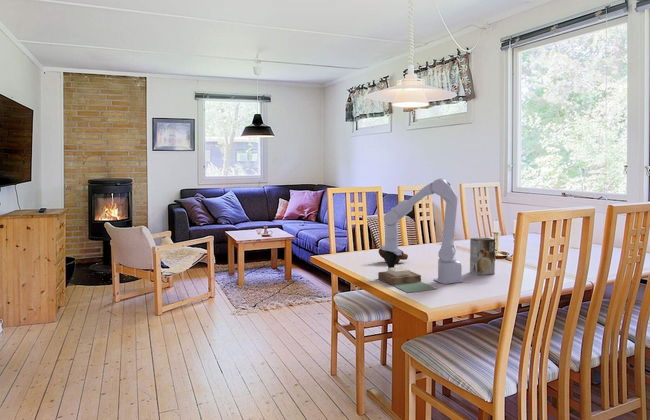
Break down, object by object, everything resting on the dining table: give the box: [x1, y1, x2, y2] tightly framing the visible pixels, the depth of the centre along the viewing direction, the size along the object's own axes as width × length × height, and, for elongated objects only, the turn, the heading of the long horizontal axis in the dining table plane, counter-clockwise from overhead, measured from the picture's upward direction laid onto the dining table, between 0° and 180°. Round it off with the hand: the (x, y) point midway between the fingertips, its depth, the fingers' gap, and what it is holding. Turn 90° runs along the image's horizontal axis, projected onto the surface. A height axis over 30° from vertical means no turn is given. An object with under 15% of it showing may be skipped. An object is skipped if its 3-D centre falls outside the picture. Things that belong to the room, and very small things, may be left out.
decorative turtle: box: [378, 247, 409, 264], centre depth 238 cm, size 10×15×8 cm, turn 99°
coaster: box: [387, 266, 411, 276], centre depth 202 cm, size 7×7×2 cm
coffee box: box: [469, 237, 496, 276], centre depth 214 cm, size 9×6×16 cm
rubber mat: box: [391, 281, 438, 294], centre depth 191 cm, size 14×12×1 cm
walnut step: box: [377, 270, 422, 286], centre depth 201 cm, size 14×12×3 cm
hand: (391, 268), depth 208 cm, fingers closed
